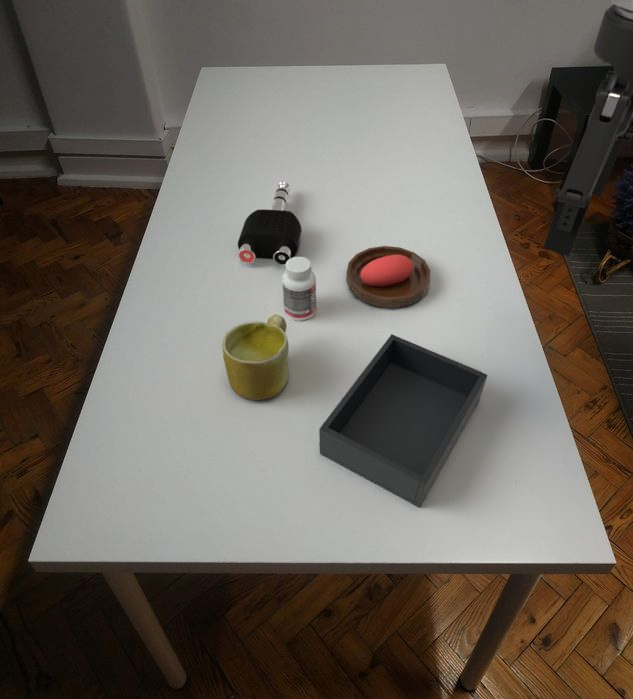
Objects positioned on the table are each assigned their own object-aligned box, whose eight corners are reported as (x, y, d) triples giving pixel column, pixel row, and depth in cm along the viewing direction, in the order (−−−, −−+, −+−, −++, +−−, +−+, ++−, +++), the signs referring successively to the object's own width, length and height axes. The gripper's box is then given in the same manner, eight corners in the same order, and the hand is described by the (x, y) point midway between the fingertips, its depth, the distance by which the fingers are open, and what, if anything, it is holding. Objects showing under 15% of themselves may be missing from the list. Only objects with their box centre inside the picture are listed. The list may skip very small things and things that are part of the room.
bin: (479, 400, 79) (487, 374, 75) (419, 508, 68) (425, 484, 64) (388, 360, 85) (391, 333, 81) (319, 454, 74) (319, 428, 70)
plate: (441, 273, 99) (443, 262, 97) (405, 321, 91) (407, 310, 89) (371, 248, 104) (372, 237, 102) (331, 291, 96) (331, 280, 94)
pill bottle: (319, 318, 91) (319, 272, 84) (287, 324, 91) (284, 277, 83) (312, 297, 95) (310, 251, 88) (281, 302, 94) (277, 256, 87)
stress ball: (411, 298, 95) (424, 264, 93) (364, 288, 92) (376, 252, 90) (400, 288, 100) (412, 255, 98) (354, 278, 97) (366, 244, 95)
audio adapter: (232, 243, 97) (257, 170, 114) (236, 267, 101) (260, 193, 118) (294, 246, 96) (310, 172, 113) (295, 270, 100) (311, 195, 117)
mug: (266, 417, 76) (252, 352, 71) (216, 399, 82) (200, 339, 77) (321, 375, 84) (311, 315, 79) (272, 362, 90) (260, 305, 85)
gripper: (637, -30, 56) (571, 163, 72) (568, 47, 42) (504, 267, 58) (720, -20, 54) (632, 179, 69) (675, 66, 39) (578, 292, 55)
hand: (574, 219), depth 63 cm, fingers open, 13 cm apart
